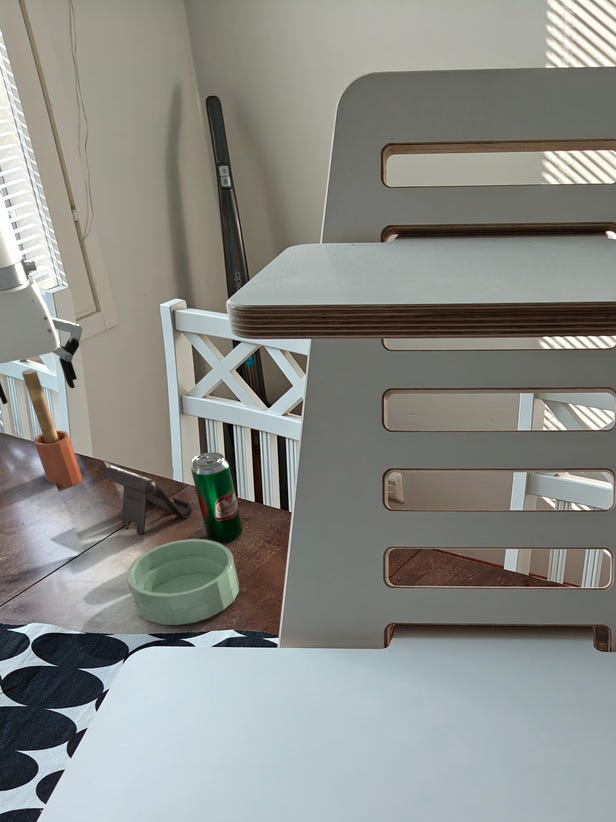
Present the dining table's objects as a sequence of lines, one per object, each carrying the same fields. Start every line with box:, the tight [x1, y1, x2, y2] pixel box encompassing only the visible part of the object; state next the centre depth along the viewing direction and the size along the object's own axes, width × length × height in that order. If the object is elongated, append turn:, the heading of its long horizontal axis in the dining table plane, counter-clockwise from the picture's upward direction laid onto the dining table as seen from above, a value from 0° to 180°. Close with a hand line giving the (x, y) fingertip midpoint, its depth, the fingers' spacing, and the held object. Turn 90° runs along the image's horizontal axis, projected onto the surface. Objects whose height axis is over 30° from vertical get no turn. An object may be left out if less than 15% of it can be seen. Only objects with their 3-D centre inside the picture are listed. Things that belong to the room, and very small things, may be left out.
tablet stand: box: [104, 465, 192, 535], centre depth 142 cm, size 9×8×8 cm
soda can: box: [190, 452, 244, 543], centre depth 137 cm, size 5×5×12 cm
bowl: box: [126, 538, 240, 626], centre depth 127 cm, size 13×13×5 cm
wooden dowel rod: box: [21, 368, 59, 444], centre depth 149 cm, size 3×2×18 cm
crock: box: [33, 430, 83, 490], centre depth 152 cm, size 5×5×8 cm
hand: (37, 392), depth 146 cm, fingers open, 9 cm apart
